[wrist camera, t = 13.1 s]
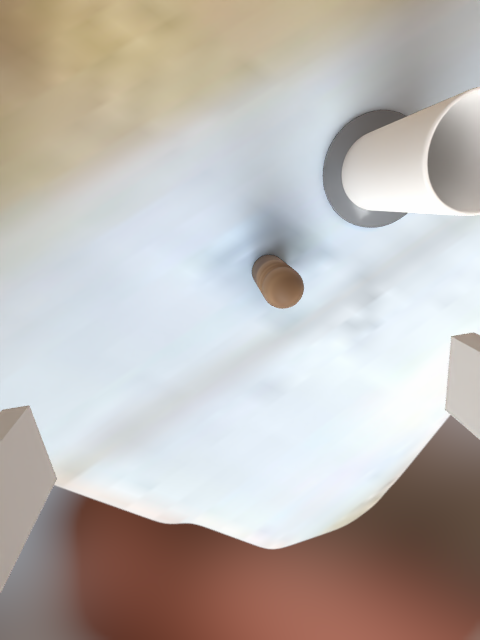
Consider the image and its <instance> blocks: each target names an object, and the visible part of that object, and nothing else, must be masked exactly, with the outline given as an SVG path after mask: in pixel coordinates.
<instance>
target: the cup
mask: <svg viewBox="0 0 480 640" xmlns="http://www.w3.org/2000/svg"><path fill="white" fill-rule="evenodd" d="M342 184H343V188H344V190H345V193H346V194H347V196H348V198H349V199H350V200H351V201H352V202H353V203H354V204H355V205H357V206H358V207H360V208H363V209H366V210H371V211H389V212H407V213H425V214H444V215H463V216H470V215H478V214H480V87H476V88H473V89H470V90H468V91H465V92H463V93H461V94H458V95H456V96H454V97H451V98H449V99H446V100H444V101H442V102H439V103H437V104H435V105H432V106H430V107H428V108H425V109H423V110H421V111H418V112H416V113H414V114H412V115H409V116H407V117H405V118H402V119H400V120H398V121H395V122H393V123H391V124H388V125H386V126H384V127H381V128H379V129H377V130H374V131H372V132H370V133H367V134H365V135H364V136H362V137H361V138H359V139H358V140H357V141H356V142H355V143H354V144H353V145H352V146H351V148H350V149H349V151H348V152H347V154H346V157H345V159H344V162H343V166H342Z"/></svg>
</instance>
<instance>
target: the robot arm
mask: <svg viewBox="0 0 480 640" xmlns="http://www.w3.org/2000/svg"><path fill="white" fill-rule="evenodd" d="M445 410H446V411H447V412H448V413H449V414H451V415H452V416H453V417H454V418H455V419H457V420H458V421H459V422H460V423H461V424H462V425H463V426H464V427H466V428H467V429H468V430H469V431H470V432H471V433H473V434H474V435H475V436H476V437H477V438H479V439H480V335H478V334H476V333H469V334H462V335H456V336H451V346H450V357H449V369H448V381H447V393H446V404H445ZM56 479H57V478H56V475H55V472H54V470H53V467H52V464H51V462H50V459H49V456H48V454H47V451H46V448H45V446H44V443H43V441H42V438H41V435H40V433H39V430H38V427H37V425H36V422H35V419H34V417H33V414H32V411H31V409H30V406H23V407H17V408H11V409H5V410H2V411H1V412H0V593H1V591H2V589H3V587H4V585H5V583H6V581H7V579H8V577H9V575H10V573H11V571H12V569H13V567H14V565H15V563H16V560H17V559H18V557H19V555H20V552H21V551H22V548H23V546H24V544H25V542H26V540H27V538H28V536H29V534H30V532H31V530H32V528H33V526H34V524H35V522H36V520H37V518H38V516H39V514H40V512H41V510H42V508H43V506H44V504H45V502H46V500H47V498H48V496H49V494H50V492H51V490H52V488H53V486H54V484H55V482H56Z"/></svg>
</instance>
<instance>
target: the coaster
mask: <svg viewBox="0 0 480 640" xmlns="http://www.w3.org/2000/svg"><path fill="white" fill-rule="evenodd" d="M405 117H407V116H405V115H403V114H401V113H398V112H395V111H390V110H377V111H372V112H369V113H365V114H363V115H361V116H359V117H357V118H356V119H354V120H352V121H351V122H349V123H348V124H347V125H346V126H345V127H344V128H343V129H342V130H341V131H340V132H339V133H338V134H337V136H336V137H335V138H334V140H333V142H332V143H331V145H330V147H329V150H328V152H327V155H326V158H325V162H324V168H323V184H324V189H325V193H326V196H327V199H328V201H329V203H330V205H331V206H332V208H333V209H334V211H335V212H336V213H337V214H338V215H339V216H340V217H342V218H343V219H344V220H346V221H347V222H349V223H351V224H354V225H357V226H361V227H369V228H372V227H381V226H385V225H388V224H391V223H393V222H395V221H397V220H399V219H400V218H402V217H403V216H404V215H406V214H407V212H389V211H371V210H366V209H363V208H360V207H358V206H357V205H355V204H354V203H353V202H352V201H351V200H350V199H349V198H348V196H347V194H346V193H345V190H344V188H343V184H342V166H343V162H344V159H345V157H346V154H347V152H348V151H349V149H350V148H351V146H352V145H353V144H354V143H355V142H356V141H357V140H358V139H359V138H361V137H362V136H364V135H365V134H367V133H370V132H372V131H374V130H377V129H379V128H381V127H384V126H386V125H388V124H391V123H393V122H395V121H398V120H400V119H402V118H405Z"/></svg>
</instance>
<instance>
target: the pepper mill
mask: <svg viewBox="0 0 480 640" xmlns="http://www.w3.org/2000/svg"><path fill="white" fill-rule="evenodd" d="M252 276H253V279H254V281H255V282H256V284H257V286H258V287H259V289H260V291H261V293H262V294H263V296H264V298H265V299H266V301H267V302H268V303H269V304H270V305H272V306H274V307H276V308H282V309H283V308H289V307H292V306H293V305H295V304H296V303H297V302H298V301H299V300H300V299H301V297H302V295H303V291H304V284H303V280H302V278H301V276H300V275H299V274H298V273H297V272H296V271H295V270H294V269H292V268H291V267H290V266H289V265H287V264H286V263H285V262H284V261H282V260H281V259H280V258H279V257H277V256H275V255H264V256H262V257H260V258H259V259H257V260H256V262H255V263H254V265H253V268H252Z"/></svg>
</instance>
